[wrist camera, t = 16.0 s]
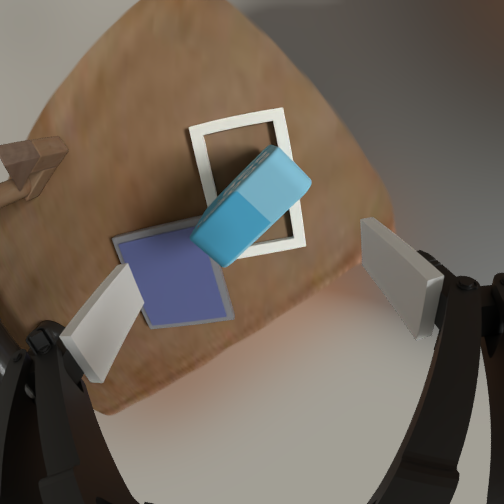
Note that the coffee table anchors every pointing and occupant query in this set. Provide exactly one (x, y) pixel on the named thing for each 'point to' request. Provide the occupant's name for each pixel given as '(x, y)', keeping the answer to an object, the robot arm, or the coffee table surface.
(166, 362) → the coffee table surface
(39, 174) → the brown wooden mallet
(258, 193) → the data package
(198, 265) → the ink pad
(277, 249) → the frame
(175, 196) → the coffee table surface
